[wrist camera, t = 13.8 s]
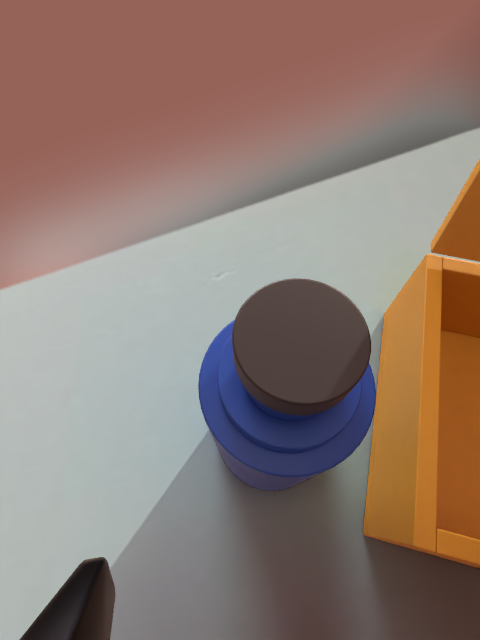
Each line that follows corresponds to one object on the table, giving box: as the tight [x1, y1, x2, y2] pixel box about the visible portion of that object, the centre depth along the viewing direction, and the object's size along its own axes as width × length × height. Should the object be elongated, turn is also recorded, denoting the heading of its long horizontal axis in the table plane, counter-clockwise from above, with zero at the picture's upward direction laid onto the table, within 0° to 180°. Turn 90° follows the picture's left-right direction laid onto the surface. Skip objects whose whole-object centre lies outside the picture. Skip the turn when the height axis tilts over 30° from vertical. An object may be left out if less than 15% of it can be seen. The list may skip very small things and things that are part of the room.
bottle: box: [199, 279, 376, 491], centre depth 13 cm, size 5×5×12 cm
